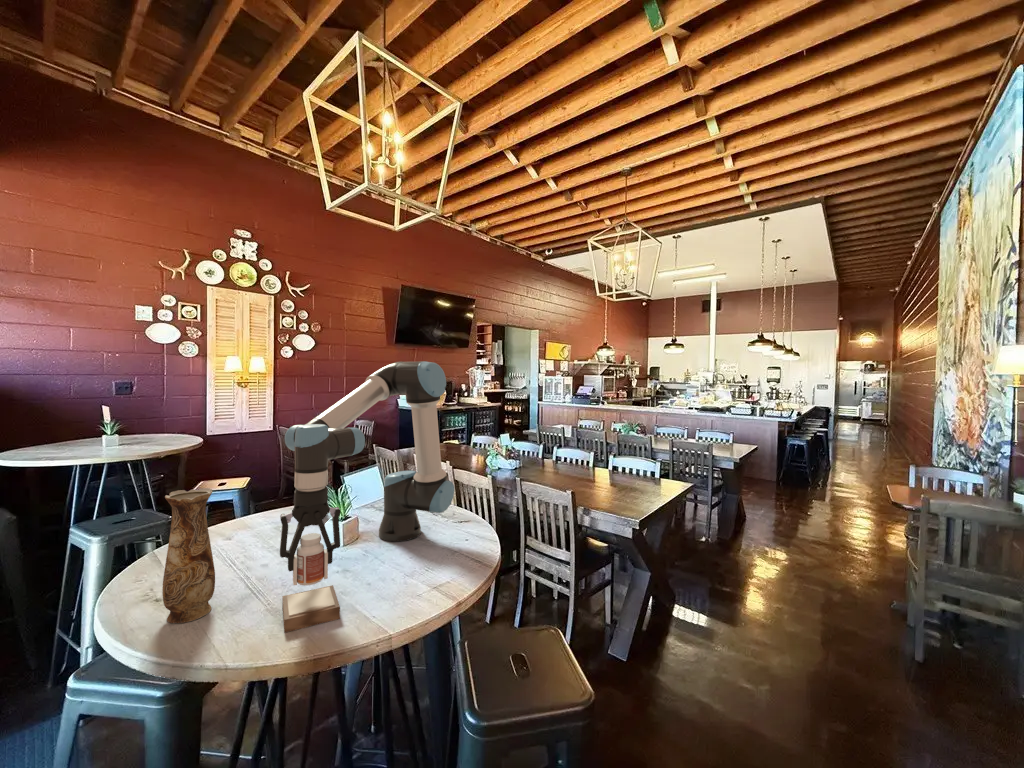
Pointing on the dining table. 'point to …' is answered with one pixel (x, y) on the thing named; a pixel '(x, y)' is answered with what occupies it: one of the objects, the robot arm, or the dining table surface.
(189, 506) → the vase
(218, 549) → the dining table surface
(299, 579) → the pill bottle
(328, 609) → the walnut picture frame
